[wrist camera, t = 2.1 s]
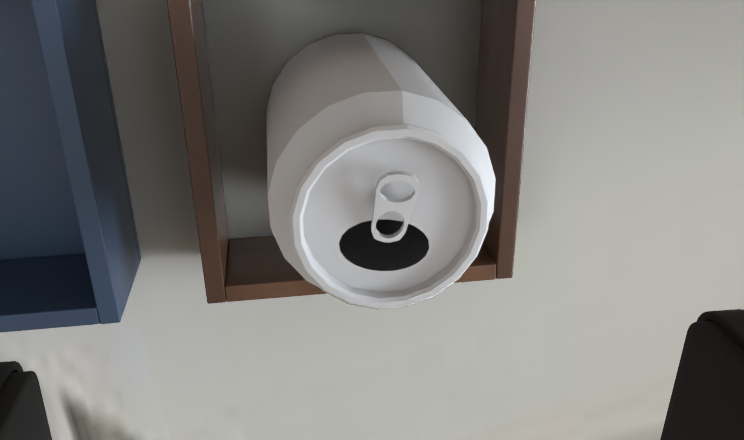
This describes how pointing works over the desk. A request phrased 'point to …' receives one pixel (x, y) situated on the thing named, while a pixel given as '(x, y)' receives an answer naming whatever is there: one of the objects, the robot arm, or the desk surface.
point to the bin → (60, 172)
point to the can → (373, 174)
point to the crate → (262, 255)
